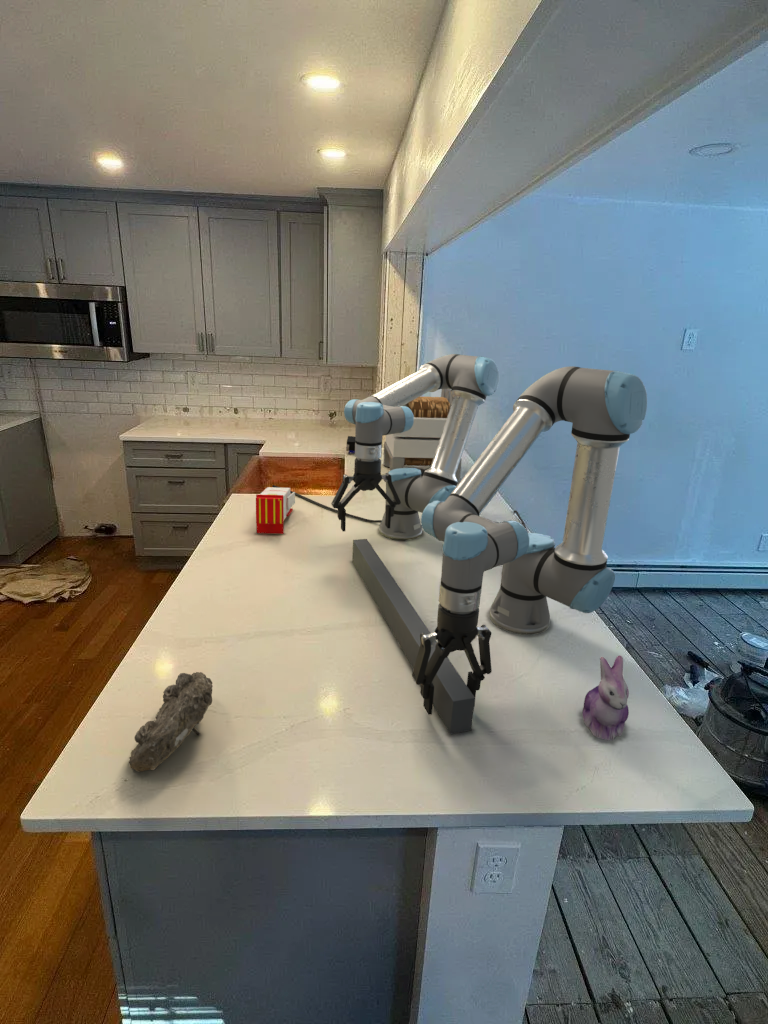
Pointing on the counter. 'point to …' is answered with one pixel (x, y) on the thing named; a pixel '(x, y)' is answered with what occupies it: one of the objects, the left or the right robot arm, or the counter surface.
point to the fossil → (172, 721)
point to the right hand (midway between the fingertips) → (448, 706)
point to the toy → (273, 509)
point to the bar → (414, 637)
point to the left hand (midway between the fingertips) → (365, 528)
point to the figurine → (607, 702)
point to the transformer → (420, 434)
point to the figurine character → (351, 444)
